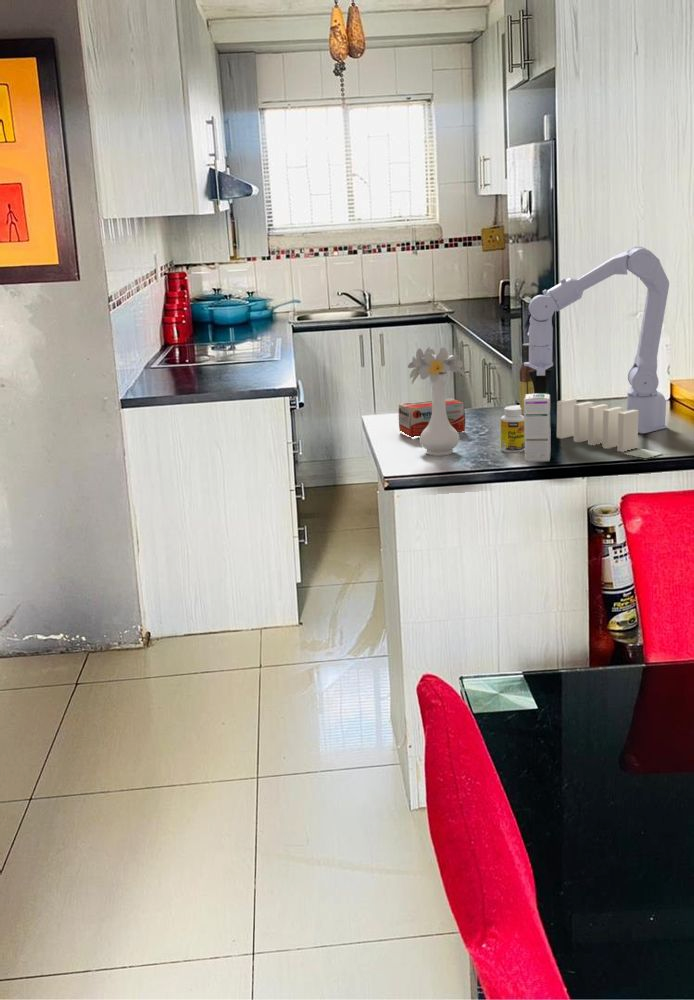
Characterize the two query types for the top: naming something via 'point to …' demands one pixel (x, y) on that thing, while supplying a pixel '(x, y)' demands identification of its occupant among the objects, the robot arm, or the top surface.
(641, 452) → the felt pad
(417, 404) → the medicine box
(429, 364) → the flower vase
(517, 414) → the supplement bottle
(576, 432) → the domino
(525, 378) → the sauce bottle
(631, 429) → the domino
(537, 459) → the syrup box
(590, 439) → the domino
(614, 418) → the domino
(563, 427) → the domino
